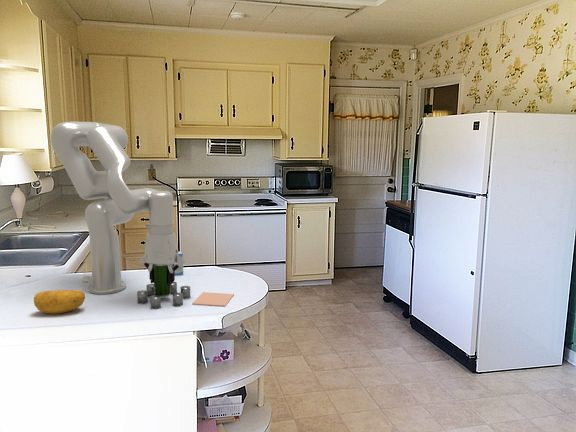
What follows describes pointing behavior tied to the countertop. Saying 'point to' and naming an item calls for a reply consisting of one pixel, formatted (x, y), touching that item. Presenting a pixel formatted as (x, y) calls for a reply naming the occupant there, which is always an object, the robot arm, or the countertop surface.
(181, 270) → the medicine box
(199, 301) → the terracotta tile
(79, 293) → the potato
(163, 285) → the beer can
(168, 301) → the countertop surface
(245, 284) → the countertop surface
